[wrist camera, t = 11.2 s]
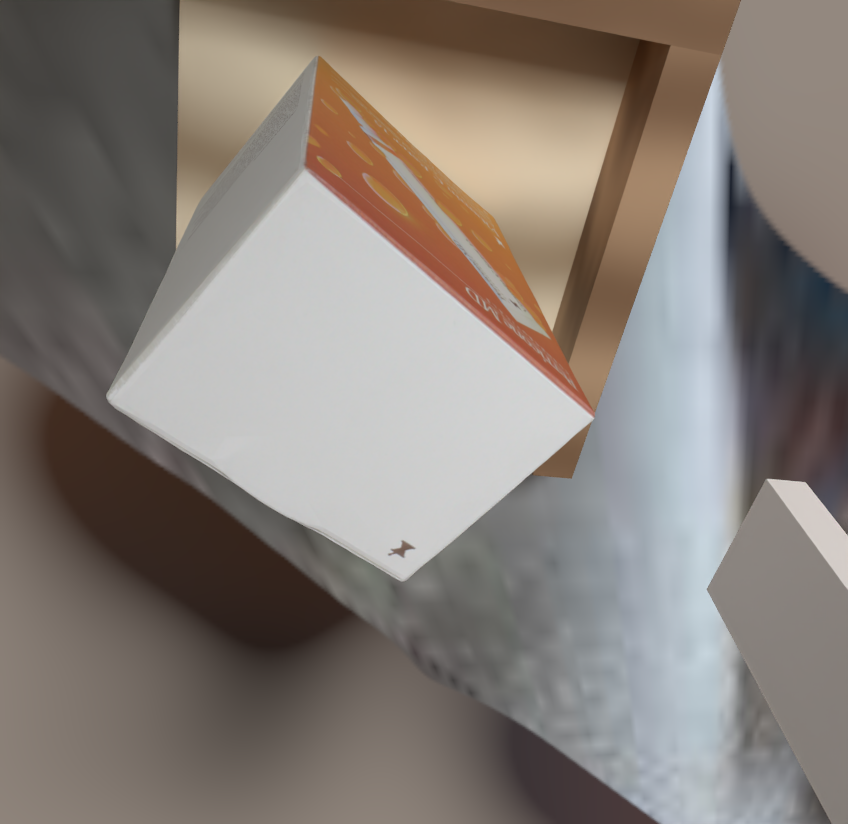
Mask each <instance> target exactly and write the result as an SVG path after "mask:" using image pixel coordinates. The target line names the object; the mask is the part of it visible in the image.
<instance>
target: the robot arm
mask: <svg viewBox="0 0 848 824" xmlns="http://www.w3.org/2000/svg"><path fill="white" fill-rule="evenodd" d="M707 591H708V593H709V594H710V596H711V598H712V600H713V602H714V604H715V606H716V608H717V609H718V611H719V613H720V615H721V617H722V619H723V621H724V623H725V624H726V626H727V628H728V630H729V632H730V634H731V636H732V638H733V639H734V641H735V643H736V645H737V647H738V649H739V651H740V653H741V655H742V656H743V658H744V660H745V662H746V664H747V666H748V668H749V670H750V671H751V673H752V675H753V677H754V679H755V681H756V683H757V685H758V686H759V688H760V690H761V692H762V694H763V696H764V698H765V700H766V701H767V703H768V705H769V707H770V709H771V711H772V713H773V715H774V716H775V718H776V720H777V722H778V724H779V726H780V728H781V730H782V732H783V733H784V735H785V737H786V739H787V741H788V743H789V745H790V747H791V748H792V750H793V752H794V754H795V756H796V758H797V760H798V762H799V763H800V765H801V767H802V769H803V771H804V773H805V775H806V777H807V778H808V780H809V782H810V784H811V786H812V788H813V790H814V792H815V793H816V795H817V797H818V799H819V801H820V803H821V805H822V807H823V809H824V810H825V812H826V814H827V816H828V818H829V820H830V822H831V824H848V535H847V534H846V533H845V532H844V530H843V529H842V528H841V527H840V525H839V524H838V523H837V522H836V520H835V519H834V518H833V517H832V515H831V514H830V513H829V512H828V510H827V509H826V508H825V506H824V505H823V504H822V503H821V501H820V500H819V499H818V498H817V496H816V495H815V494H814V493H813V491H812V490H811V489H810V488H809V486H808V485H807V484H806V482H796V481H785V480H774V479H766V481H765V482H764V484H763V486H762V488H761V490H760V492H759V494H758V495H757V497H756V499H755V501H754V503H753V505H752V506H751V508H750V510H749V512H748V514H747V516H746V518H745V519H744V521H743V523H742V525H741V527H740V529H739V531H738V532H737V534H736V536H735V538H734V540H733V542H732V543H731V545H730V547H729V549H728V551H727V553H726V555H725V556H724V558H723V560H722V562H721V564H720V566H719V568H718V569H717V571H716V573H715V575H714V577H713V579H712V580H711V582H710V584H709V586H708V588H707Z"/></svg>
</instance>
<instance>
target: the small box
mask: <svg viewBox="0 0 848 824" xmlns="http://www.w3.org/2000/svg"><path fill="white" fill-rule="evenodd" d="M106 398H107V400H108V402H109V403H110V404H111V405H112V406H113V407H114V408H115V409H116V410H118V411H120V412H122V413H123V414H125V415H127V416H128V417H130V418H131V419H133V420H134V421H136V422H137V423H139V424H140V425H142V426H143V427H145V428H147V429H148V430H150V431H152V432H153V433H155V434H157V435H158V436H160V437H162V438H163V439H165V440H166V441H168V442H169V443H171V444H172V445H174V446H176V447H177V448H179V449H180V450H182V451H184V452H185V453H187V454H189V455H190V456H192V457H194V458H195V459H197V460H199V461H200V462H202V463H204V464H205V465H207V466H208V467H210V468H211V469H213V470H215V471H216V472H218V473H219V474H221V475H222V476H224V477H226V478H227V479H229V480H230V481H232V482H233V483H235V484H236V485H237V486H239V487H240V488H242V489H243V490H245V491H246V492H247V493H249V494H250V495H252V496H253V497H255V498H256V499H257V500H259V501H260V502H262V503H264V504H265V505H267V506H269V507H270V508H272V509H274V510H275V511H277V512H279V513H280V514H282V515H284V516H286V517H288V518H290V519H292V520H294V521H296V522H298V523H300V524H301V525H303V526H306V527H308V528H310V529H312V530H314V531H316V532H318V533H320V534H321V535H323V536H325V537H326V538H328V539H330V540H331V541H333V542H335V543H337V544H338V545H340V546H342V547H344V548H345V549H347V550H348V551H350V552H352V553H353V554H355V555H357V556H359V557H360V558H362V559H364V560H366V561H368V562H369V563H371V564H373V565H374V566H376V567H378V568H379V569H381V570H383V571H384V572H386V573H388V574H389V575H391V576H392V577H394V578H396V579H398V580H400V581H406V580H407V579H408V578H409V577H411V576H412V575H413V574H414V573H415V572H416V571H417V570H418V569H419V568H421V567H422V566H423V565H424V564H425V563H427V562H428V561H429V560H430V559H432V558H433V557H434V556H435V555H437V554H438V553H439V552H440V551H441V550H443V549H444V548H445V547H446V546H447V545H449V544H450V543H451V542H452V541H453V540H455V539H456V538H457V537H458V536H459V535H460V534H462V533H463V532H464V531H465V530H466V529H467V528H469V527H470V526H471V525H472V524H473V523H474V522H476V521H477V520H478V519H479V518H480V517H481V516H483V515H484V514H485V513H486V512H487V511H488V510H490V509H491V508H492V507H493V506H494V505H496V504H497V503H498V502H499V501H500V500H501V499H503V498H504V497H505V496H506V495H507V494H508V493H509V492H510V491H512V490H513V489H514V488H515V487H516V486H518V485H519V484H520V483H521V482H522V481H523V480H524V479H525V478H526V477H528V476H529V475H530V474H531V473H532V472H534V471H535V470H536V469H537V468H538V467H539V466H541V465H542V464H543V463H544V462H545V461H547V460H548V459H549V458H550V457H551V456H552V455H553V454H555V453H556V452H557V451H558V450H559V449H560V448H561V447H563V446H564V445H565V444H566V443H567V442H568V441H569V440H570V439H571V438H572V437H574V436H575V435H576V434H577V433H578V432H580V431H581V430H582V429H583V428H584V427H586V426H587V425H588V424H589V423H590V422H591V421H593V420H594V417H595V413H594V411H593V409H592V407H591V406H590V404H589V402H588V400H587V398H586V396H585V394H584V393H583V391H582V389H581V387H580V385H579V383H578V382H577V380H576V378H575V376H574V374H573V372H572V370H571V368H570V366H569V364H568V362H567V360H566V358H565V356H564V354H563V352H562V350H561V348H560V346H559V345H558V343H557V341H556V339H555V337H554V335H553V333H552V331H551V329H550V327H549V325H548V323H547V321H546V319H545V317H544V315H543V313H542V311H541V309H540V307H539V305H538V303H537V301H536V299H535V297H534V295H533V293H532V291H531V289H530V288H529V286H528V284H527V282H526V280H525V278H524V276H523V274H522V272H521V270H520V268H519V266H518V264H517V262H516V260H515V259H514V257H513V255H512V252H511V250H510V248H509V246H508V244H507V242H506V240H505V238H504V236H503V234H502V232H501V230H500V228H499V226H498V224H497V223H496V221H495V219H494V217H493V216H492V215H490V214H489V213H488V212H487V211H486V210H485V209H483V208H482V207H481V206H480V205H479V204H477V203H476V202H475V201H474V200H473V199H471V198H470V197H469V196H468V195H467V194H466V193H465V192H464V191H462V190H461V189H460V188H459V187H458V186H457V185H456V184H455V183H453V182H452V181H451V180H450V179H449V178H448V177H447V176H446V175H445V174H444V173H443V172H442V171H441V170H439V169H438V168H437V167H436V166H435V165H434V164H433V163H432V162H431V161H430V160H429V159H428V158H427V157H426V156H425V155H423V154H422V153H421V152H420V151H419V150H418V149H417V148H416V147H414V146H413V145H412V144H411V143H410V142H409V141H408V140H407V139H406V138H405V137H404V136H403V135H402V134H401V133H400V132H399V131H398V130H397V129H396V128H395V127H393V126H392V125H391V124H390V123H389V122H388V121H387V120H386V119H385V118H384V117H383V116H382V115H381V114H380V113H379V112H378V111H377V110H376V109H375V108H374V107H373V106H372V105H370V104H369V103H368V102H367V101H366V100H365V99H364V98H363V97H362V96H361V95H360V94H359V93H358V92H357V91H356V90H355V89H354V88H353V87H352V86H351V85H350V84H349V83H348V82H347V81H346V80H344V79H343V78H342V77H341V76H340V75H339V74H338V73H337V72H336V71H335V70H334V69H333V68H332V67H331V66H330V65H329V64H328V63H327V62H326V61H325V60H324V59H323V58H322V57H321V56H315V57H314V58H313V60H312V61H311V62H310V63H309V64H308V66H307V67H306V68H305V69H304V71H303V72H302V73H301V74H300V76H299V77H298V78H297V79H296V81H295V82H294V83H293V84H292V86H291V87H290V88H289V90H288V91H287V92H286V93H285V95H284V96H283V97H282V98H281V100H280V101H279V102H278V103H277V105H276V106H275V107H274V108H273V110H272V111H271V112H270V113H269V115H268V116H267V117H266V118H265V120H264V121H263V122H262V123H261V125H260V126H259V127H258V128H257V130H256V131H255V132H254V133H253V135H252V136H251V137H250V138H249V140H248V141H247V142H246V144H245V145H244V146H243V147H242V149H241V150H240V151H239V152H238V154H237V155H236V156H235V157H234V159H233V160H232V161H231V162H230V163H229V165H228V166H227V167H226V168H225V170H224V171H223V172H222V173H221V175H220V176H219V177H218V178H217V180H216V181H215V182H214V183H213V185H212V186H211V187H210V188H209V190H208V191H207V192H206V193H205V195H204V196H203V197H202V199H201V200H200V202H199V204H198V206H197V208H196V209H195V212H194V214H193V216H192V218H191V220H190V222H189V224H188V226H187V228H186V230H185V232H184V234H183V237H182V239H181V241H180V243H179V245H178V247H177V250H176V252H175V254H174V256H173V258H172V260H171V262H170V265H169V267H168V269H167V272H166V274H165V276H164V278H163V280H162V282H161V284H160V286H159V288H158V290H157V292H156V295H155V297H154V299H153V301H152V303H151V305H150V307H149V309H148V311H147V314H146V316H145V318H144V320H143V322H142V324H141V326H140V329H139V331H138V333H137V335H136V337H135V339H134V341H133V343H132V346H131V348H130V350H129V352H128V354H127V356H126V358H125V360H124V362H123V364H122V366H121V368H120V370H119V371H118V373H117V375H116V377H115V379H114V381H113V383H112V385H111V387H110V389H109V391H108V393H107V395H106Z"/></svg>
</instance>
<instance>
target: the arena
mask: <svg viewBox="0 0 848 824" xmlns="http://www.w3.org/2000/svg"><path fill="white" fill-rule="evenodd" d="M740 1H741V0H180V14H179V80H178V146H177V213H176V250H177V247H178V245H179V243H180V241H181V239H182V237H183V234H184V232H185V230H186V228H187V226H188V224H189V222H190V220H191V218H192V216H193V214H194V212H195V209H196V208H197V206H198V204H199V202H200V200H201V199H202V197H203V196H204V195H205V193H206V192H207V191H208V190H209V188H210V187H211V186H212V185H213V183H214V182H215V181H216V180H217V178H218V177H219V176H220V175H221V173H222V172H223V171H224V170H225V168H226V167H227V166H228V165H229V163H230V162H231V161H232V160H233V159H234V157H235V156H236V155H237V154H238V152H239V151H240V150H241V149H242V147H243V146H244V145H245V144H246V142H247V141H248V140H249V138H250V137H251V136H252V135H253V133H254V132H255V131H256V130H257V128H258V127H259V126H260V125H261V123H262V122H263V121H264V120H265V118H266V117H267V116H268V115H269V113H270V112H271V111H272V110H273V108H274V107H275V106H276V105H277V103H278V102H279V101H280V100H281V98H282V97H283V96H284V95H285V93H286V92H287V91H288V90H289V88H290V87H291V86H292V84H293V83H294V82H295V81H296V79H297V78H298V77H299V76H300V74H301V73H302V72H303V71H304V69H305V68H306V67H307V66H308V64H309V63H310V62H311V61H312V60H313V58H314V57H315V56H321V57H322V58H323V59H324V60H325V61H326V62H327V63H328V64H329V65H330V66H331V67H332V68H333V69H334V70H335V71H336V72H337V73H338V74H339V75H340V76H341V77H342V78H343V79H344V80H346V81H347V82H348V83H349V84H350V85H351V86H352V87H353V88H354V89H355V90H356V91H357V92H358V93H359V94H360V95H361V96H362V97H363V98H364V99H365V100H366V101H367V102H368V103H369V104H370V105H372V106H373V107H374V108H375V109H376V110H377V111H378V112H379V113H380V114H381V115H382V116H383V117H384V118H385V119H386V120H387V121H388V122H389V123H390V124H391V125H392V126H393V127H395V128H396V129H397V130H398V131H399V132H400V133H401V134H402V135H403V136H404V137H405V138H406V139H407V140H408V141H409V142H410V143H411V144H412V145H413V146H414V147H416V148H417V149H418V150H419V151H420V152H421V153H422V154H423V155H425V156H426V157H427V158H428V159H429V160H430V161H431V162H432V163H433V164H434V165H435V166H436V167H437V168H438V169H439V170H441V171H442V172H443V173H444V174H445V175H446V176H447V177H448V178H449V179H450V180H451V181H452V182H453V183H455V184H456V185H457V186H458V187H459V188H460V189H461V190H462V191H464V192H465V193H466V194H467V195H468V196H469V197H470V198H471V199H473V200H474V201H475V202H476V203H477V204H479V205H480V206H481V207H482V208H483V209H485V210H486V211H487V212H488V213H489V214H490V215H492V216H493V217H494V219H495V221H496V223H497V224H498V226H499V228H500V230H501V232H502V234H503V236H504V238H505V240H506V242H507V244H508V246H509V248H510V250H511V252H512V255H513V257H514V259H515V260H516V262H517V264H518V266H519V268H520V270H521V272H522V274H523V276H524V278H525V280H526V282H527V284H528V286H529V288H530V289H531V291H532V293H533V295H534V297H535V299H536V301H537V303H538V305H539V307H540V309H541V311H542V313H543V315H544V317H545V319H546V321H547V323H548V325H549V327H550V329H551V331H552V333H553V335H554V337H555V339H556V341H557V343H558V345H559V346H560V348H561V350H562V352H563V354H564V356H565V358H566V360H567V362H568V364H569V366H570V368H571V370H572V372H573V374H574V376H575V378H576V380H577V382H578V383H579V385H580V387H581V389H582V391H583V393H584V394H585V396H586V398H587V400H588V402H589V404H590V406H591V407H592V409H593V411H594V413H595V411H596V408H597V405H598V402H599V399H600V397H601V394H602V391H603V388H604V385H605V383H606V380H607V377H608V374H609V371H610V368H611V366H612V363H613V360H614V357H615V354H616V352H617V349H618V346H619V343H620V340H621V337H622V335H623V332H624V329H625V326H626V323H627V320H628V318H629V315H630V312H631V309H632V306H633V304H634V301H635V298H636V295H637V292H638V289H639V287H640V284H641V281H642V278H643V275H644V272H645V270H646V267H647V264H648V261H649V258H650V256H651V253H652V250H653V247H654V244H655V241H656V239H657V236H658V233H659V230H660V227H661V225H662V222H663V219H664V216H665V213H666V210H667V208H668V205H669V202H670V199H671V196H672V193H673V191H674V188H675V185H676V182H677V179H678V177H679V174H680V171H681V168H682V165H683V162H684V160H685V157H686V154H687V151H688V148H689V145H690V143H691V140H692V137H693V134H694V131H695V129H696V126H697V123H698V120H699V117H700V114H701V112H702V109H703V106H704V103H705V100H706V98H707V95H708V92H709V89H710V86H711V83H712V81H713V78H714V75H715V72H716V69H717V66H718V64H719V61H720V58H721V55H722V52H723V50H724V47H725V44H726V41H727V38H728V35H729V33H730V30H731V27H732V24H733V21H734V18H735V16H736V13H737V10H738V7H739V4H740ZM591 422H592V421H591ZM591 422H590V423H589V424H588V425H587V426H586V427H584V428H583V429H582V430H581V431H580V432H578V433H577V434H576V435H575V436H574V437H572V438H571V439H570V440H569V441H568V442H567V443H566V444H565V445H564V446H563V447H561V448H560V449H559V450H558V451H557V452H556V453H555V454H553V455H552V456H551V457H550V458H549V459H548V460H547V461H545V462H544V463H543V464H542V465H541V466H539V467H538V468H537V469H536V470H535V471H534V472H532V474H533V475H538V476H549V477H560V478H571V479H572V476H573V473H574V470H575V467H576V464H577V462H578V459H579V456H580V453H581V450H582V447H583V445H584V442H585V439H586V436H587V433H588V431H589V428H590V425H591Z"/></svg>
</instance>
